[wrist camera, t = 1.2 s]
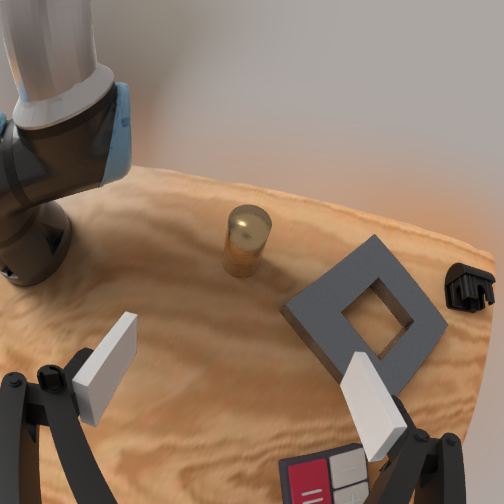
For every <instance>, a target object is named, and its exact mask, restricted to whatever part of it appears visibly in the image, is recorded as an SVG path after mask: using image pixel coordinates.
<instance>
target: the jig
mask: <svg viewBox="0 0 504 504" xmlns="http://www.w3.org/2000/svg"><path fill="white" fill-rule="evenodd" d="M369 286H371V288H372V289H373V290H374V291H375V292H376V294H377V295H378V296H379V297H380V298H381V300H382V301H383V302H384V303H385V305H386V306H387V307H388V308H389V310H390V311H391V312H392V313H393V315H394V316H395V317H396V318H397V320H398V321H399V322H400V323H401V325H402V326H403V328H402V329H401V331H400V332H399V333H398V334H397V335H396V336H395V338H394V339H393V340H392V341H391V342H390V343H389V345H388V346H387V347H386V348H385V349H384V350H383V351H382V352H381V354H380V355H379V356H378V357H377V356H376V355H375V354H374V352H373V351H372V350H371V349H370V347H369V346H368V345H367V344H366V343H365V341H364V340H363V339H362V338H361V336H360V335H359V334H358V333H357V331H356V330H355V329H354V328H353V326H352V325H351V324H350V323H349V322H348V320H347V319H346V318H345V317H344V316H343V314H342V313H341V312H342V311H343V310H344V309H345V308H346V307H347V306H348V305H349V304H351V303H352V302H353V301H354V300H355V299H356V298H357V297H358V296H359V295H360V294H361V293H362V292H364V291H365V290H366V289H367V288H368V287H369ZM280 312H281V313H282V315H283V316H284V317H285V318H286V320H287V321H288V322H289V323H290V325H291V326H292V327H293V328H294V330H295V331H296V332H297V333H298V335H299V336H300V337H301V338H302V339H303V341H304V342H305V343H306V344H307V346H308V347H309V348H310V349H311V351H312V352H313V353H314V354H315V355H316V357H317V358H318V359H319V360H320V362H321V363H322V364H323V365H324V367H325V368H326V369H327V370H328V371H329V373H330V374H331V375H332V376H333V377H334V379H335V380H336V381H337V382H338V384H339V385H340V384H341V382H342V380H343V377H344V375H345V373H346V371H347V369H348V366H349V364H350V362H351V360H352V357H353V355H354V353H355V352H365V353H366V354H367V356H368V358H369V359H370V361H371V363H372V364H373V366H374V368H375V370H376V371H377V373H378V375H379V376H380V378H381V380H382V382H383V383H384V385H385V387H386V389H387V391H388V392H389V394H390V395H395V396H397V395H398V394H399V393H400V391H401V390H402V389H403V388H404V386H405V385H406V384H407V383H408V381H409V380H410V379H411V378H412V376H413V375H414V374H415V372H416V371H417V370H418V368H419V367H420V366H421V364H422V363H423V362H424V360H425V359H426V357H427V356H428V355H429V353H430V352H431V350H432V349H433V347H434V346H435V344H436V343H437V341H438V340H439V338H440V337H441V335H442V334H443V332H444V331H445V329H446V328H447V326H448V324H447V322H446V321H445V319H444V318H443V317H442V315H441V314H440V313H439V311H438V310H437V309H436V307H435V306H434V305H433V303H432V302H431V301H430V300H429V298H428V297H427V296H426V294H425V293H424V292H423V291H422V289H421V288H420V287H419V285H418V284H417V283H416V282H415V280H414V279H413V278H412V277H411V276H410V274H409V273H408V272H407V271H406V270H405V268H404V267H403V266H402V265H401V264H400V262H399V261H398V260H397V259H396V258H395V256H394V255H393V254H392V253H391V252H390V251H389V249H388V248H387V247H386V246H385V245H384V244H383V243H382V242H381V240H380V239H379V238H378V237H377V236H376V235H375V234H374V235H373V236H371V237H370V238H369V239H368V240H367V241H365V242H364V243H363V244H362V245H361V246H359V247H358V248H357V249H356V250H354V251H353V252H352V253H351V254H349V255H348V256H347V257H346V258H344V259H343V260H342V261H341V262H339V263H338V264H337V265H335V266H334V267H333V268H332V269H330V270H329V271H328V272H327V273H325V274H324V275H323V276H321V277H320V278H319V279H317V280H316V281H315V282H313V283H312V284H311V285H310V286H308V287H307V288H306V289H304V290H303V291H302V292H300V293H299V294H298V295H296V296H295V297H294V298H292V299H291V300H289V301H288V302H287V303H285V304H284V306H283V307H282V308H281V310H280Z"/></svg>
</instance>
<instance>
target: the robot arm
mask: <svg viewBox="0 0 504 504" xmlns="http://www.w3.org/2000/svg"><path fill="white" fill-rule="evenodd" d="M0 27H1V31H2V36H3V41H4V45H5V49H6V53H7V57H8V60H9V64H10V67H11V71H12V74H13V77H14V81H15V84H16V87H17V90H18V93H19V96H20V97H19V99H18V102H17V104H16V106H15V109H14V111H13V119H11V120H6V115H5V114H4V113H3V112H2V111H1V110H0V272H1V274H2V275H3V276H4V277H6V278H7V279H8V280H9V281H10V282H12V283H13V284H15V285H18V286H31V285H35V284H37V283H39V282H41V281H43V280H45V279H46V278H48V277H49V276H50V275H51V274H52V273H53V272H54V271H55V270H56V269H57V268H58V267H59V265H60V264H61V262H62V261H63V259H64V257H65V255H66V253H67V251H68V248H69V245H70V241H71V225H70V222H69V219H68V217H67V215H66V214H65V212H64V210H63V209H62V207H61V206H60V205H59V204H58V203H57V202H55V201H54V200H56V199H59V198H63V197H66V196H69V195H73V194H76V193H80V192H83V191H87V190H90V189H94V188H100V187H102V186H103V185H105V184H108V183H111V182H114V181H117V180H120V179H122V178H123V177H125V176H126V175H127V174H128V172H129V170H130V168H131V159H132V155H131V154H132V150H131V148H132V147H131V125H130V97H129V88H128V85H127V84H126V83H120V82H119V83H118V82H116V83H115V82H114V75H113V72H112V71H111V69H109V68H108V67H106V66H103V65H102V64H99V63H97V58H96V52H95V44H94V34H93V25H92V14H91V0H0ZM136 353H137V314H133V313H129V312H126V311H125V313H124V314H123V315H122V316H121V318H120V319H119V320H118V321H117V323H116V324H115V325H114V326H113V327H112V329H111V330H110V331H109V333H108V334H107V335H106V336H105V338H104V339H103V340H102V341H101V343H100V344H99V345H98V347H97V348H96V349H95V350H92V349H89V348H86V347H85V348H83V349H81V350H80V351H78V352H77V353H76V354H75V355H74V357H73V358H72V359H71V360H70V361H69V363H68V364H67V365H66V366H65V368H64V369H62V368H60V367H59V366H56V365H45V366H43V367H41V368H40V369H39V370H38V372H37V378H38V382H39V384H35V383H29V382H27V380H26V378H25V376H24V375H23V374H21V373H18V372H11V373H8V374H6V375H5V376H4V378H3V379H2V383H1V387H0V504H42V501H41V490H40V474H39V426H40V425H44V426H49V427H50V430H51V433H52V437H53V440H54V443H55V447H56V450H57V453H58V456H59V459H60V461H61V464H62V467H63V470H64V472H65V475H66V478H67V480H68V483H69V485H70V488H71V490H72V492H73V495H74V497H75V499H76V501H77V503H78V504H118V503H117V501H116V500H115V498H114V496H113V494H112V492H111V491H110V489H109V487H108V485H107V483H106V481H105V479H104V477H103V475H102V473H101V471H100V469H99V467H98V465H97V463H96V461H95V458H94V456H93V454H92V452H91V449H90V447H89V445H88V442H87V440H86V438H85V435H84V433H83V430H82V427H81V425H80V422H79V420H78V416H79V415H80V418H81V421H82V422H83V423H86V424H88V425H91V426H94V427H96V426H97V424H98V422H99V420H100V418H101V417H102V415H103V413H104V411H105V409H106V407H107V405H108V403H109V401H110V400H111V398H112V396H113V394H114V392H115V390H116V388H117V387H118V385H119V383H120V381H121V379H122V378H123V376H124V374H125V372H126V370H127V369H128V367H129V365H130V363H131V361H132V360H133V358H134V356H135V354H136ZM340 387H341V389H342V392H343V394H344V397H345V400H346V402H347V405H348V407H349V410H350V413H351V415H352V418H353V421H354V423H355V426H356V429H357V431H358V434H359V437H360V439H361V442H362V445H363V448H364V450H365V453H366V456H367V459H368V461H369V462H375V461H381V460H382V459H383V458H384V457H385V456H386V454H387V455H388V458H389V460H388V461H387V462H386V463H385V464H384V466H383V467H382V468H381V469H380V470H379V471H380V472H381V473H380V475H379V477H378V479H377V481H376V482H375V484H374V486H373V488H372V490H371V491H370V493H369V495H368V496H367V498H366V500H365V501H364V503H363V504H409V501H410V499H411V497H412V494H413V492H414V489H415V496H414V504H466V487H465V474H464V464H463V454H462V446H461V441H460V439H459V438H458V436H456V435H455V434H453V433H445V434H444V435H443V436H442V437H441V439H437V438H430V436H429V434H428V433H427V432H426V431H424V430H422V429H417V428H416V427H415V425H414V423H413V421H412V420H411V418H410V416H409V414H408V413H407V411H406V409H405V408H404V406H403V404H402V402H401V401H400V400H399V399H398V398H397V397H396V396H395V395H390V394H389V392H388V391H387V389H386V387H385V385H384V383H383V382H382V380H381V378H380V376H379V375H378V373H377V371H376V370H375V368H374V366H373V364H372V363H371V361H370V359H369V358H368V356H367V354H366V353H365V352H355V353H354V355H353V357H352V360H351V362H350V364H349V366H348V369H347V371H346V373H345V375H344V377H343V380H342V382H341V384H340Z"/></svg>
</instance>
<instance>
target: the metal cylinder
mask: <svg viewBox="0 0 504 504" xmlns="http://www.w3.org/2000/svg"><path fill="white" fill-rule="evenodd" d="M271 227H272V222H271V219H270V216H269V215H268V214H267V212H266V211H264V210H263V209H262V208H260V207H258V206H254V205H242V206H239V207H237V208H235V209H234V210H233V211H232V212H231V213H230V215H229V219H228V226H227V233H226V240H225V247H224V254H223V266H224V268H225V270H226V271H227V272H228V273H229V274H231V275H232V276H235V277H239V278H243V277H247V276H250V275H251V274H253V273H254V271H255V270H256V268H257V265H258V263H259V260H260V257H261V254H262V252H263V249H264V246H265V244H266V241H267V238H268V236H269V233H270V230H271Z"/></svg>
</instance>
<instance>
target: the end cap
mask: <svg viewBox="0 0 504 504" xmlns="http://www.w3.org/2000/svg"><path fill="white" fill-rule="evenodd" d="M494 282H496V281H495V278H494V276H493V275H492V274H491V273H489V272H486V271H483V270H480V269H477V268H474V267H471V266H468V265H465V264H462V263H455V264H453V265H452V266H451V267H450V268H449V270H448V272H447V274H446V278H445V297H446V306H447V308H450V309H455V310H460V311H466V312H471V313H475V312H476V311H480V310H482V309H484V308H485V302H484V294H485V299H486V301H488V304H489V305H492V304H493V303H495V300H494V293H493V287H492V284H493V283H494Z"/></svg>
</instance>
